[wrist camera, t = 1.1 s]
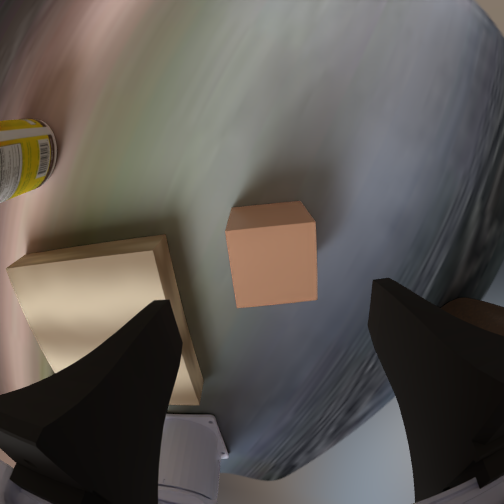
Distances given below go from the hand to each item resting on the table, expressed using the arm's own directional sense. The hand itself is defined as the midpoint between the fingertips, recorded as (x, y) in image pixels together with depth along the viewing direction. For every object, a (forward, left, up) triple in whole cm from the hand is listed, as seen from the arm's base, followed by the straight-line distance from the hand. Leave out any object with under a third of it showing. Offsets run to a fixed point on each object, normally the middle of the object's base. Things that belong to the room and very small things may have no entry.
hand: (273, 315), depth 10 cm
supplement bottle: (+8, +17, -11) cm, 21 cm away
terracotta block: (-1, 0, -11) cm, 11 cm away
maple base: (-7, +14, -10) cm, 18 cm away
